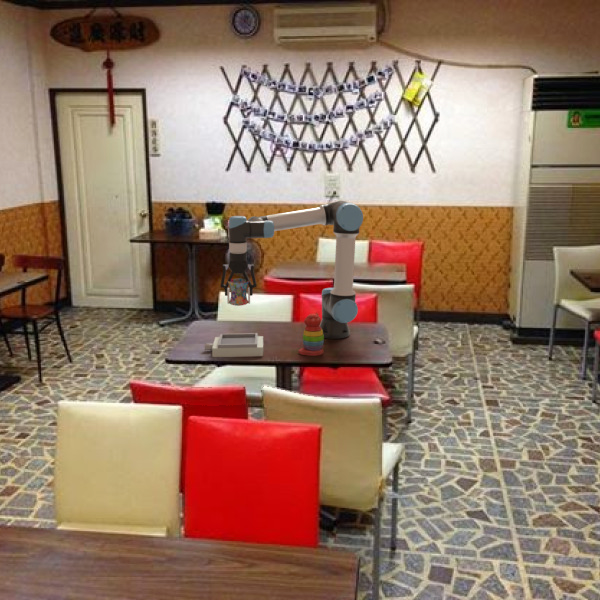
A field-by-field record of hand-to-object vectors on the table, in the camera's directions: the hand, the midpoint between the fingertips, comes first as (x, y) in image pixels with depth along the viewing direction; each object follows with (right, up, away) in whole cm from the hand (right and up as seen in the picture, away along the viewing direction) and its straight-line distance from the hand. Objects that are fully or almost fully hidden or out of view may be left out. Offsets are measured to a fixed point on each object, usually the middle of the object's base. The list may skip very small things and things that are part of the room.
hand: (238, 302), depth 295 cm
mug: (0, -1, 0) cm, 1 cm away
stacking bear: (+33, -22, +1) cm, 40 cm away
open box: (-3, -21, +5) cm, 22 cm away
